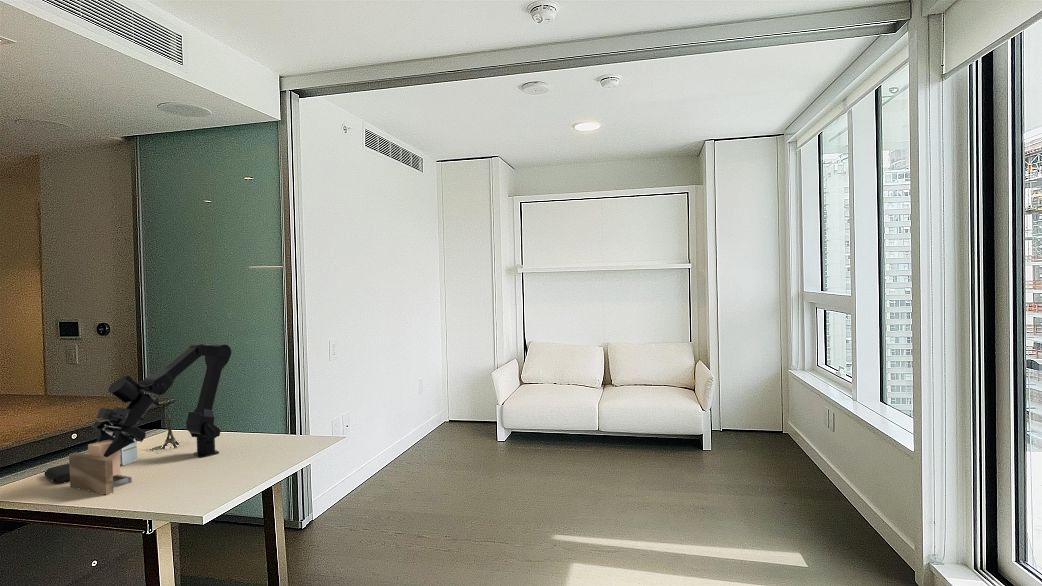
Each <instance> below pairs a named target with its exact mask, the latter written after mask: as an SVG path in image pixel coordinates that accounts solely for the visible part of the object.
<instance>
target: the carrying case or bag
mask: <svg viewBox="0 0 1042 586" xmlns="http://www.w3.org/2000/svg"><path fill="white" fill-rule="evenodd" d="M44 477H46V478H47V481H48V482H50V483H51V482H52V483H56V484H59V483H61V484H65V483H64V482H66V483H70V482H69V481H70V468H69V463H65V464H61V465H57V466H52V467H49V468H47V469H46V470H45V471H44Z"/></svg>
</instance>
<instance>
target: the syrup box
mask: <svg viewBox="0 0 1042 586" xmlns="http://www.w3.org/2000/svg"><path fill="white" fill-rule="evenodd" d="M110 424H111V423H110ZM112 425H113V424H112ZM113 437H114V438H115V436H113ZM133 441H135V442H134V443H132V444H130V445H128V446H126V447H124V448H122V449H120V450H119V456H120V466H126V465H129V464H133V463H135V462H138V460H139V457H138V443H137V442H138V441H136V440H135V439H134V440H133Z"/></svg>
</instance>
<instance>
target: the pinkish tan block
mask: <svg viewBox="0 0 1042 586" xmlns="http://www.w3.org/2000/svg"><path fill="white" fill-rule="evenodd" d="M112 442H113V440H104V441H100V442H96V441H95V442H93V443H89V444H87V451H88V452H87V454H88V455H93V456H99V457H104V458H110V459H112V465H113V476H115V475H121V465H120V456H119V451H117V452H115V453H114V454H112V455H110V456H108V457H105V456H104V454H105V452H106V451H107V449H108V448H109V446H110V445H111V443H112Z"/></svg>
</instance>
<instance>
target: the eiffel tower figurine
mask: <svg viewBox="0 0 1042 586" xmlns="http://www.w3.org/2000/svg"><path fill="white" fill-rule="evenodd" d="M167 418H168V426H167V428H168V431H167V434H166V435H167V436H166V439H165V441H164V444H162V445H163V447H162V445H157V446H154V448H153V447H151V448H152V449H151V448H149V450H150V451H149V452H152V451H151V450H155V451H158V450H162V449H163V450H166V449H165V446H168V445H169V444H168V443H170V445H173V446H174V448H173V449H178V447H177V446H176V445H179V444H180V442H177V441H178V440H176V437H174V436H175V435H174V434H173V431H172V425H171V424H172V423H171V415H170V414H168V417H167ZM167 444H168V445H167ZM179 446H180V445H179ZM161 447H162V448H161Z"/></svg>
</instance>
